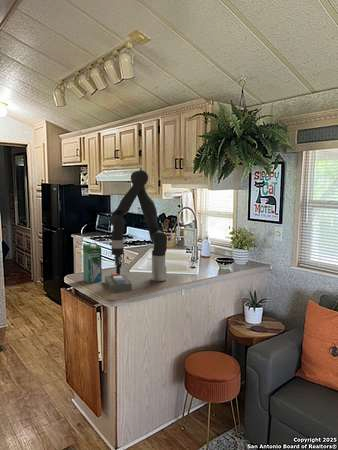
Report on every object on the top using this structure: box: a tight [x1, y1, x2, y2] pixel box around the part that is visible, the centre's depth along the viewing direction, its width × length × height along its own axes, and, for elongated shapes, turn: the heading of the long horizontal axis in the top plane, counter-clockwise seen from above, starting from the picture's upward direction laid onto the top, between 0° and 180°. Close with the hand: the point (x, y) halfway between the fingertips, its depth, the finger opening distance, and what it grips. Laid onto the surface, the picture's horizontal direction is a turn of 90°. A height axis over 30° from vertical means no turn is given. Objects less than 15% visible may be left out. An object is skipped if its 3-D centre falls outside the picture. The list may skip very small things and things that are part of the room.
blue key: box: [115, 278, 125, 285], centre depth 202 cm, size 5×5×3 cm
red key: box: [110, 271, 121, 278], centre depth 215 cm, size 5×5×3 cm
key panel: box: [104, 274, 133, 293], centre depth 209 cm, size 13×22×4 cm, turn 19°
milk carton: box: [82, 242, 103, 284], centre depth 218 cm, size 9×9×25 cm
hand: (118, 273), depth 208 cm, fingers closed
